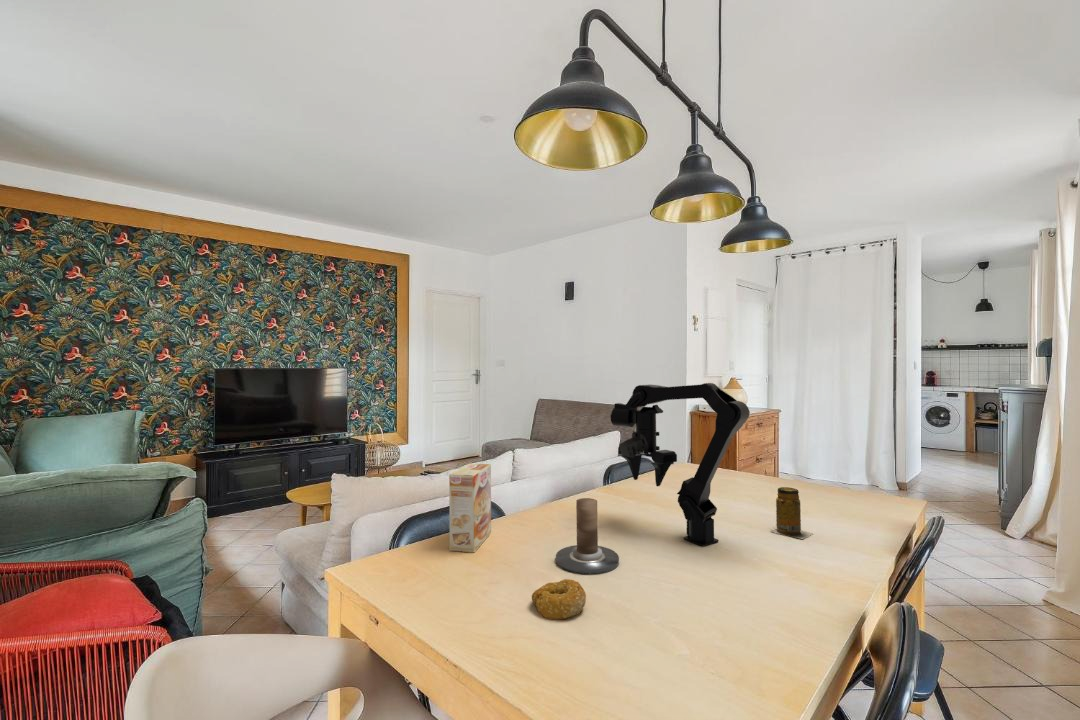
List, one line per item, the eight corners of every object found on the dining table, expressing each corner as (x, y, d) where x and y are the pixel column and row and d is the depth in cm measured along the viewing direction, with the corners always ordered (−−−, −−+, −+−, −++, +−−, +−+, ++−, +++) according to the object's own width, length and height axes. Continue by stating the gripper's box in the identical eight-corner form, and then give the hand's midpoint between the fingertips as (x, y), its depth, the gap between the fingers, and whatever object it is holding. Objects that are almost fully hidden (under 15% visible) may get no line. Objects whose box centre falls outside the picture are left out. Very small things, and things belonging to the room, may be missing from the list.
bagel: (550, 590, 102) (550, 567, 102) (596, 606, 95) (595, 582, 95) (520, 610, 94) (520, 585, 94) (567, 629, 87) (566, 603, 87)
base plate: (632, 565, 114) (632, 559, 114) (579, 580, 106) (579, 573, 106) (593, 545, 127) (593, 540, 127) (544, 557, 119) (544, 551, 119)
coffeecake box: (474, 553, 122) (474, 475, 123) (448, 551, 124) (447, 474, 124) (492, 533, 137) (491, 463, 137) (468, 531, 138) (467, 462, 139)
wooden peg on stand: (606, 553, 118) (606, 499, 118) (594, 563, 112) (593, 506, 112) (580, 547, 121) (580, 495, 122) (567, 557, 115) (567, 502, 116)
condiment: (782, 526, 140) (781, 484, 140) (813, 534, 134) (812, 490, 134) (770, 532, 136) (769, 489, 136) (802, 540, 129) (801, 495, 129)
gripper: (603, 427, 144) (604, 480, 144) (647, 434, 128) (648, 494, 128) (632, 424, 150) (632, 475, 149) (678, 431, 134) (678, 488, 133)
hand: (646, 482), depth 140 cm, fingers open, 9 cm apart
